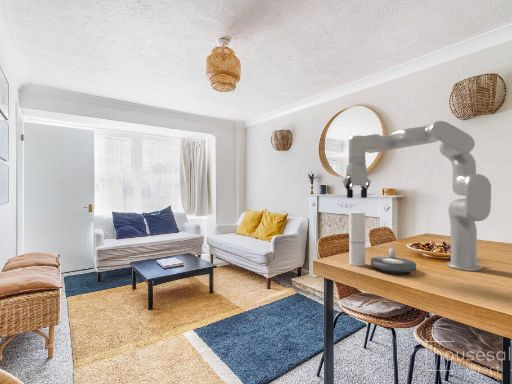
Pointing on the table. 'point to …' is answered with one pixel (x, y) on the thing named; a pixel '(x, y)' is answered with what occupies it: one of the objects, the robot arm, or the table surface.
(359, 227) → the cylindrical container
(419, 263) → the table surface
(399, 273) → the turntable base
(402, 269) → the disc
